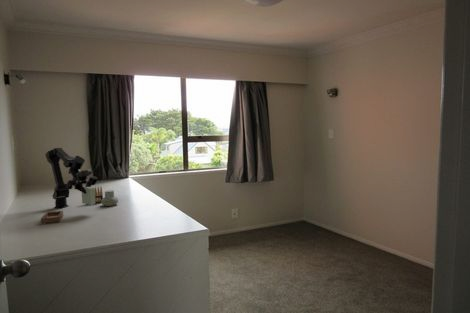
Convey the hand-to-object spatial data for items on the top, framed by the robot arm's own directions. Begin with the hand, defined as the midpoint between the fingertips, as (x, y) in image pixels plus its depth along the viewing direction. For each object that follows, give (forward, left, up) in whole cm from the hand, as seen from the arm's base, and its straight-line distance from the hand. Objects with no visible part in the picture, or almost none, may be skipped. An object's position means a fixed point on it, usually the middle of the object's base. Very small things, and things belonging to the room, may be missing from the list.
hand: (88, 192), depth 203 cm
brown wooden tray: (+16, -12, -13) cm, 24 cm away
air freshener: (-23, -3, -13) cm, 27 cm away
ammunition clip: (-26, -18, -13) cm, 35 cm away
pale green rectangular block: (0, 0, -7) cm, 7 cm away
